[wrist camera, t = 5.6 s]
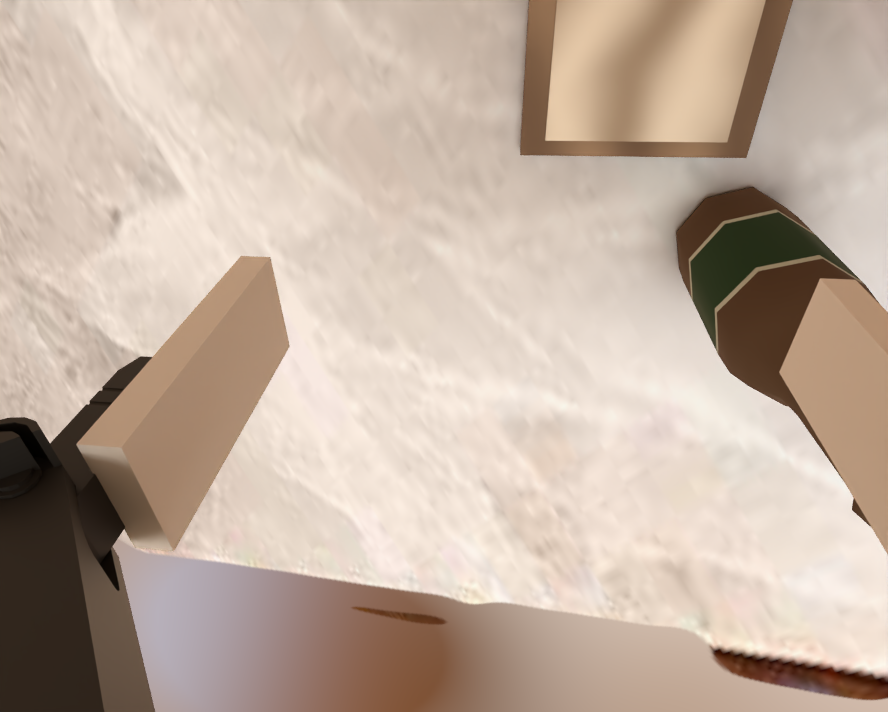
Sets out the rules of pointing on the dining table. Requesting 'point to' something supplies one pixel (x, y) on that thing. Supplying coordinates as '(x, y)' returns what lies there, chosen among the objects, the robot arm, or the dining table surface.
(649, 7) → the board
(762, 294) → the beer bottle
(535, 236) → the dining table surface
